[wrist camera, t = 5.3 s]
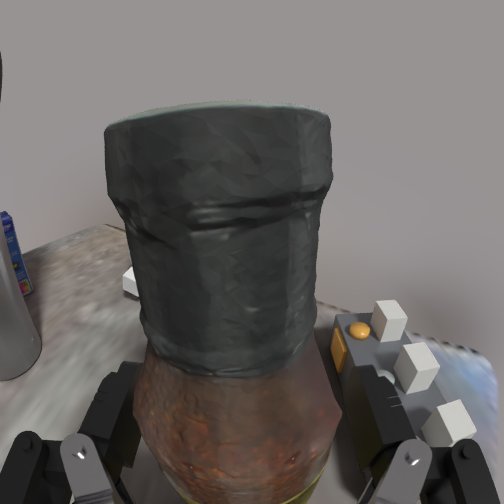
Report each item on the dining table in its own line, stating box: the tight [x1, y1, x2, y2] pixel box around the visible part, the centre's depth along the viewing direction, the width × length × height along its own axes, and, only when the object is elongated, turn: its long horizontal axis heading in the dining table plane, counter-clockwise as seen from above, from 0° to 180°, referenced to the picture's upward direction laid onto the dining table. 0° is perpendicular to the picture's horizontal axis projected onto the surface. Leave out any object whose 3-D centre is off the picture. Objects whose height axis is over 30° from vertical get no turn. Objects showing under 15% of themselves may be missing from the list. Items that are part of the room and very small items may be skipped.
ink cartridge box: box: [0, 211, 33, 296], centre depth 32 cm, size 10×6×14 cm, turn 57°
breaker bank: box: [329, 300, 477, 500], centre depth 18 cm, size 6×18×6 cm, turn 0°
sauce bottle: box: [104, 100, 342, 504], centre depth 8 cm, size 6×6×20 cm
